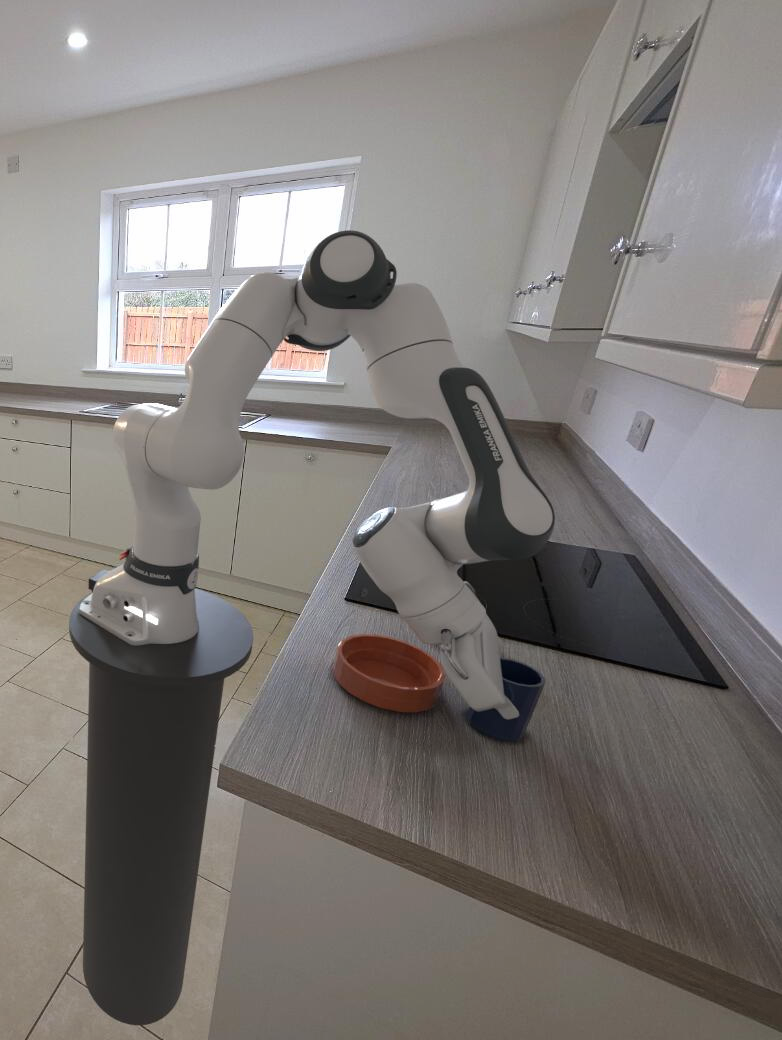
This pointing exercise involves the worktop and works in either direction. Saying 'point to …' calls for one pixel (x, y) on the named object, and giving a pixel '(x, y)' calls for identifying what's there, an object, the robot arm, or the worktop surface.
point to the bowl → (388, 673)
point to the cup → (523, 691)
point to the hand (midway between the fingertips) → (510, 698)
